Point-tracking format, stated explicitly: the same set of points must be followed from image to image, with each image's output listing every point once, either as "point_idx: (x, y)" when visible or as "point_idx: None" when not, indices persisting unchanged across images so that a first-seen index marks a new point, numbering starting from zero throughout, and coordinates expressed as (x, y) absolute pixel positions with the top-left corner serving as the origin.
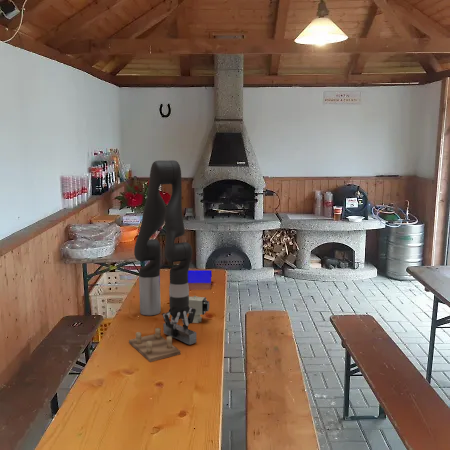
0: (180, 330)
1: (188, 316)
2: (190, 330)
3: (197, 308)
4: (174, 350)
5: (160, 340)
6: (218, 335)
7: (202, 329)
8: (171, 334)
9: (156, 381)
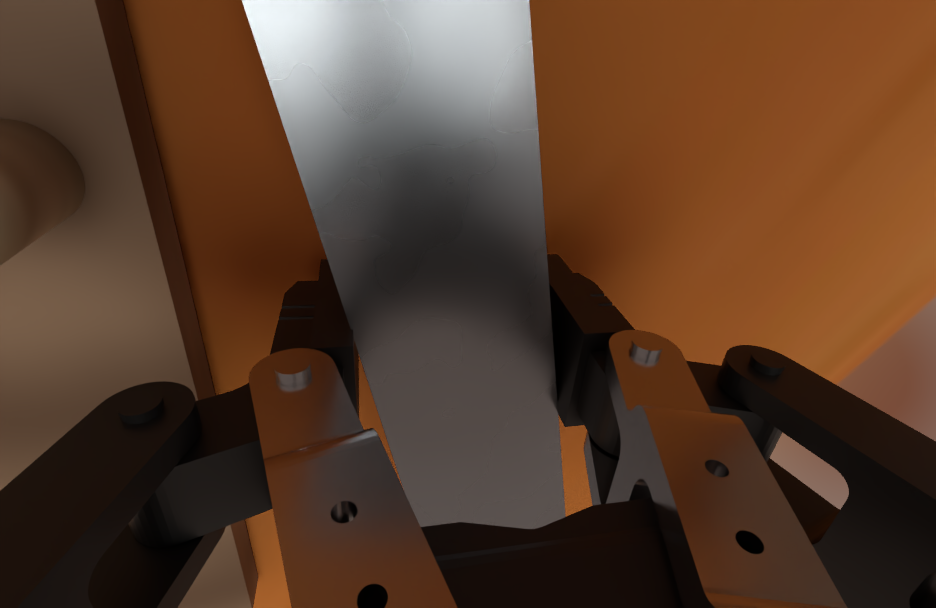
0: (414, 471)
1: (835, 456)
2: (550, 513)
3: None
4: (191, 590)
5: (62, 276)
6: (829, 369)
7: (898, 107)
8: (287, 303)
9: None
